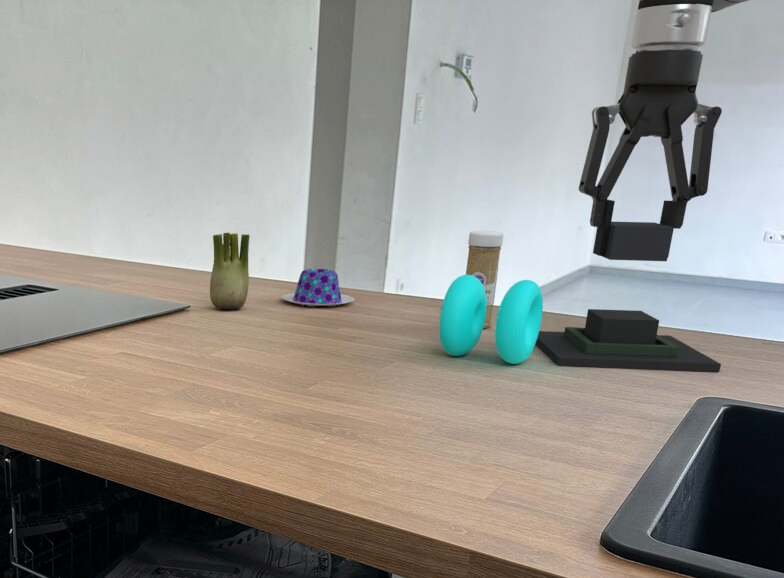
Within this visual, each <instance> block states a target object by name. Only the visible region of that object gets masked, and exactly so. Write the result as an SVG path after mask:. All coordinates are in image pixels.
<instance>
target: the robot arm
mask: <svg viewBox="0 0 784 578" xmlns="http://www.w3.org/2000/svg"><path fill="white" fill-rule="evenodd" d="M749 1H750V0H639V1H638V6H637V10H636V16H635V21H634V27H633V33H632V38H631V43H630V47H631V48H632V49H633V50H635V53H632V54H631V56H629V57H628V63H627V68H626V75H625V80H624V81H625V82H624V87H623V92H622V95H621V97H620V98H619V99H618V101H617V103H614V104H611V105H610V104H609V105H605V106H597V107H594V108H593V110H591V119H592V133H591V137H590V140H589V145H588V148H587V152H586V157H585V160H584V164H583V168H582V173H581V177H580V181H579V184H578V191H579V193H581V194H583V195H586V196H589V197H590V198H591V199H592V204H591V211H590V218H589V223H590V224H589V225H590V226H591V227H593V228H596V231H595V232H596V233H595V238H594V244H593V249H592V254H594V255H596V256H597V257H598V256H599V257H602V256H605V254H606V249H607V243H608V237H609V231H610V225H611V222H613V221H612V219H613V215H614V208H615V204H616V202H615V200H612V199H609V197H610V195H611V193H612V191H613V189H614V187H615V185H616V183H617V182H618V180H619V178H620V176H621V174H622V172H623V170H624V169H625V166H626V164H627V162H628V160H629V159H630V156H631V154H632V153H633V151H634V148H635V147H636V146H637V144H638V143H639V142H640V140H641V138H647V137H653V138H654V137H655V138H660V142H661V144H662V146H663V151H664V157H665V158H664V159H665V164H666V170H667V176H668V182H669V183H668V184H669V188H670V196H671V198H672V199H671V200H663V205H662V209H661V214H660V221H659V224H662V225H667V226H671V227H673V231H674V230H675V229H677V230H678V229H679V230H680V229H681V228H682V226H683V225H684V221H685V220H684V219H685V215H686V211H687V205H688V202H690V201H691V200H692V199H695V198H698V197H703V196H705V195H706V194H707V193H708V190H709V182H710V181H709V180H710V170H711V163H712V162H711V161H712V152H713V145H714V144H713V143H714V136H715V135H714V134H715V128H716V126H717V124H718V121H719V120H720V117H721V115H722V113H723V112H722V111H723V110H722V108H721V107H720V106H709V105H705V104H702V103H699V100H698V97H697V92H696V91H697V86H698V82H699V79H700V72H701V68H702V62H703V56H704V54H703V53H702V51H701V50H699V48H701V47H703V46H704V45H706V40H707V35H708V30H709V25H710V19H711V14H712V13H715V12H719V11H721V10H724V9H726V8H729V7H733V6H735V5H738V4H741V3H745V2H749ZM617 114H619V116H620V118H621V120H622V122H623V123H624V126H625V128H624V130H623V131H622V133H621V135H620V137H619V140H618V144H617V146H616V147H615V150H614V152H613V154H612V155H611V157H610V159H609V161H608V162H607V165H606V167H605V169H604V171H603V173H602V175H601V177H600V178H599V177H598V176H599V174H600V169H601V166H602V161H603V156H604V153H605V149H606V146H607V142H608V137H609V133H610V129H611V128H610V127H611V125H612V124H613V123H614V121H615V119H616V116H617ZM692 115H693V123H694V124H695V128H694V133H693V143H692V153H691V162H690V172H689V179H688V172H687V166H686V159H685V154H684V147H683V141H684V136H683V129H682V125H684V123H685V122H686V121H687V120H688V119H689V118H690V117H691V116H692ZM598 178H599V180H598ZM597 180H598V182H597ZM673 234H674V232H673V233H672V236H674V235H673ZM672 239H673V237H672V238H671V241H672ZM671 245H672V242H671V243H670V248H669V253H668V257H669V255H670V251H671Z"/></svg>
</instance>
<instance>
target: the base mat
mask: <svg viewBox="0 0 784 578" xmlns="http://www.w3.org/2000/svg"><path fill="white" fill-rule="evenodd" d="M584 331H585V327H578V326H577V327H575V326H572V327H571V326H565V327H564V331H549V330H539V334H538V337H537V341H536V343H535V345H536V346H537V347H538V348H539V349H540V350H541V351H542V352H543V353H544V354H545V355H546V356H547V357H548V358H549V359H550V360H551V361H552V362H553V363H554V364H555V365H557V366H558V367H559V366H560V367H582V368H583V367H584V368H606V369H607V368H608V369H633V370H659V371H682V372H707V373H720V372H721V371H720V370H721V366H722V363H720V362H718V361H717V360H715V359H714V358H711V357H709V356H708V355H706V354H704V353H702V352H700V351H698V350H697V349H695V348H693V347H692V346H690V345H688V344H686V343H685V342H683V341H681V340H679V339H677V338H675V337H674V336H672V335H665V334H657V336H656V341H655V345H645V344H618V343H593V342H592V341H591V340H589V339H588V338H587V337H585V336H584Z"/></svg>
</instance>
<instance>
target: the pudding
mask: <svg viewBox="0 0 784 578" xmlns="http://www.w3.org/2000/svg"><path fill="white" fill-rule="evenodd" d="M338 276H339V275H338V273H337V271H336V270H333V269H328V268H307V269H304V270H302V271H301V273H300V274H299V277H298V278H299V279H298V281H297V285H296V288H295V292H291V293H286V294H283V295H282V296H281V299H282V300H285V301H286V302H290V303H294V304H296V305H299V304H300V306H304V305H307V306H306V307H315V306H328V307H336V305H337V306H340V305H344V304H348V303H351V302H354V301H355V298H354V297H353V296H350V295H348V294H343V293H341V287H340V283H339V282H340V281H339V277H338Z"/></svg>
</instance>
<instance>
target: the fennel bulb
mask: <svg viewBox="0 0 784 578" xmlns="http://www.w3.org/2000/svg"><path fill="white" fill-rule="evenodd" d="M212 240H213V241H212V242H213V243H212V244H213V265H212V270H211V276H210V283H209V284H210V285H209V297H210V302H211V304H212V305H213V306H214V307H215V308H216V309H218V308H220V309H219V310H238V309H239V310H240V309H241V308H243V307H244V306H245V304H246V301H247V297H248V293H249V286H250V285H249V284H250V283H249V281H250V276H249V275H250V274H249V247H250V234H249V233H248V234H245V233H244V234H241V237H240V244H239V234H238V233H237V232H236V233H231V232H223V234H222V233H219V234H213V235H212ZM239 245H240V246H239Z"/></svg>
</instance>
